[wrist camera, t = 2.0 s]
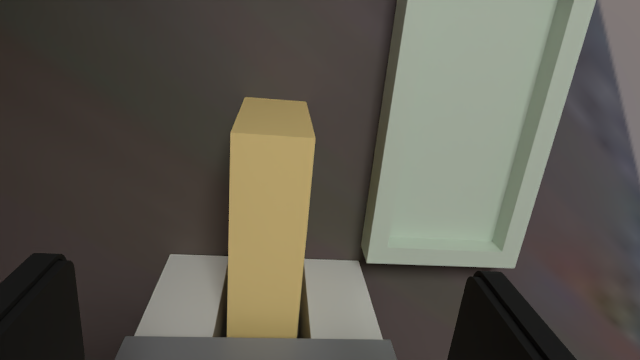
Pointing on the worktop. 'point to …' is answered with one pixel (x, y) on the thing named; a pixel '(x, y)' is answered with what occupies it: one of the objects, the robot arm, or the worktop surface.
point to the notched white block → (256, 353)
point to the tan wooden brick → (268, 216)
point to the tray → (468, 127)
